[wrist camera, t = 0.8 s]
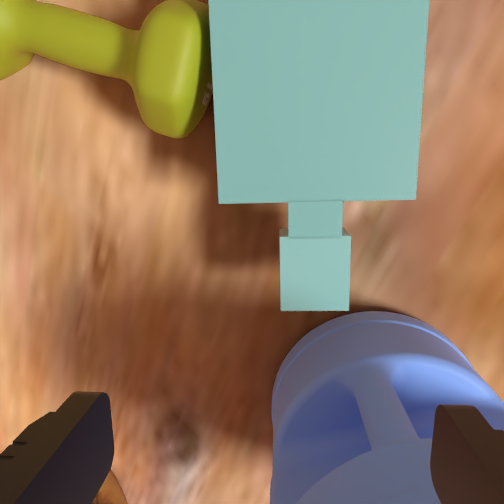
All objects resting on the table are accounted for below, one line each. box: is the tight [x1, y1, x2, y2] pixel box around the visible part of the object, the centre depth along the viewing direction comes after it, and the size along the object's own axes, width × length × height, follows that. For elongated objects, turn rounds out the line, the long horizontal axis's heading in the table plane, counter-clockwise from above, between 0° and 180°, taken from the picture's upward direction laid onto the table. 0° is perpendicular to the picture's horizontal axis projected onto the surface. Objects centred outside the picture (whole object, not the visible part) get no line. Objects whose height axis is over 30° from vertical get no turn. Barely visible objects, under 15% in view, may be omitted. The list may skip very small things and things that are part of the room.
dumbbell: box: [0, 0, 213, 139], centre depth 24 cm, size 16×8×7 cm, turn 73°
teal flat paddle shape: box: [208, 0, 429, 311], centre depth 22 cm, size 19×11×3 cm, turn 2°
